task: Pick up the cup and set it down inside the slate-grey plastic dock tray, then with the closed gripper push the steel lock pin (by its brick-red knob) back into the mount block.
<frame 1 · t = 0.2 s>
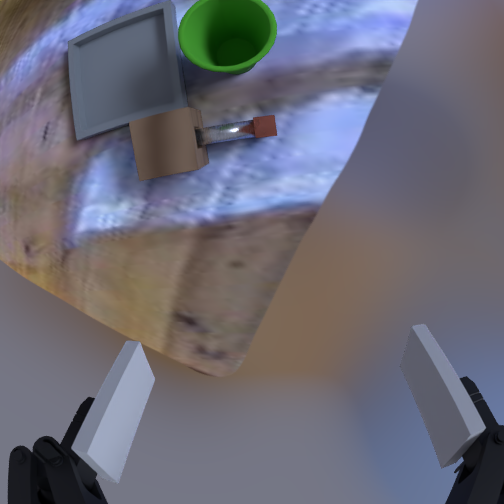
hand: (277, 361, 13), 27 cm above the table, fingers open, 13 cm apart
tray: (125, 70, 31), on the table
pin: (229, 131, 31), point 4 cm above the table, slide at 4.5 cm
cup: (236, 56, 31), on the table
mount: (178, 141, 35), on the table
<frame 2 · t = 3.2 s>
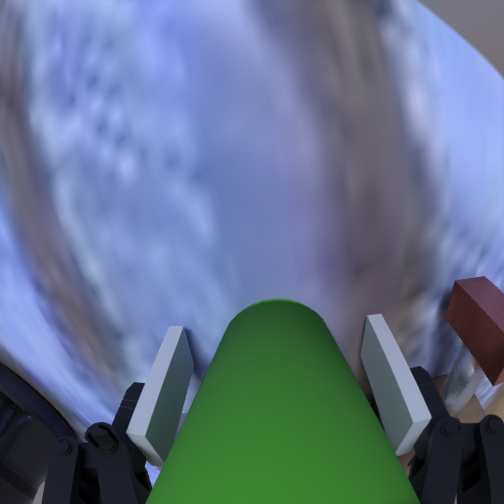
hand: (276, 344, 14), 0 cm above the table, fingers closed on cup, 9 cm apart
pin: (464, 384, 11), point 4 cm above the table, slide at 4.5 cm
cup: (276, 336, 15), on the table, touching gripper
mount: (409, 410, 17), on the table
when the fingers open (3 cm above the table, at t = 8.4 s): cup drops 2 cm, resting on tray.
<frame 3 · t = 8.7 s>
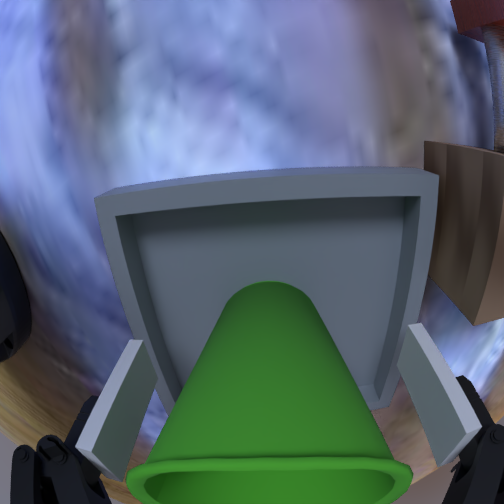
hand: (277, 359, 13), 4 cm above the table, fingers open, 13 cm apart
tray: (275, 311, 17), on the table
cup: (269, 315, 16), resting on tray
mount: (467, 204, 14), on the table
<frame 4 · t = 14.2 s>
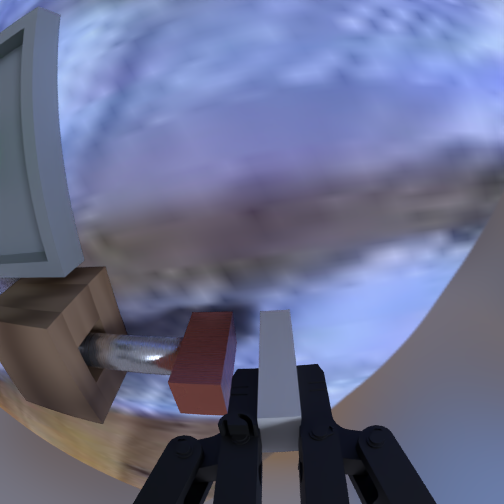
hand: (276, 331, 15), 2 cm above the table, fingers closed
pin: (134, 356, 14), point 4 cm above the table, slide at 3.4 cm, touching gripper
mount: (80, 313, 18), on the table
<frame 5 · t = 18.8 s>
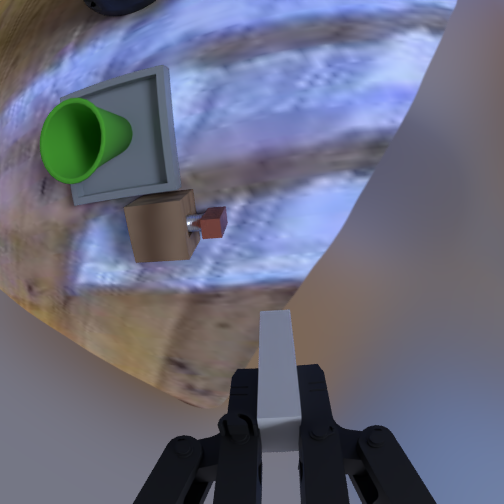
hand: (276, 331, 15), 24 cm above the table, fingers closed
tray: (118, 137, 34), on the table
pin: (182, 224, 35), point 4 cm above the table, slide at 0.0 cm
cup: (117, 135, 34), resting on tray
mount: (171, 217, 38), on the table
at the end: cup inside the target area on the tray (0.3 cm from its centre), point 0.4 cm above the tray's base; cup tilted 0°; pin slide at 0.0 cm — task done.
